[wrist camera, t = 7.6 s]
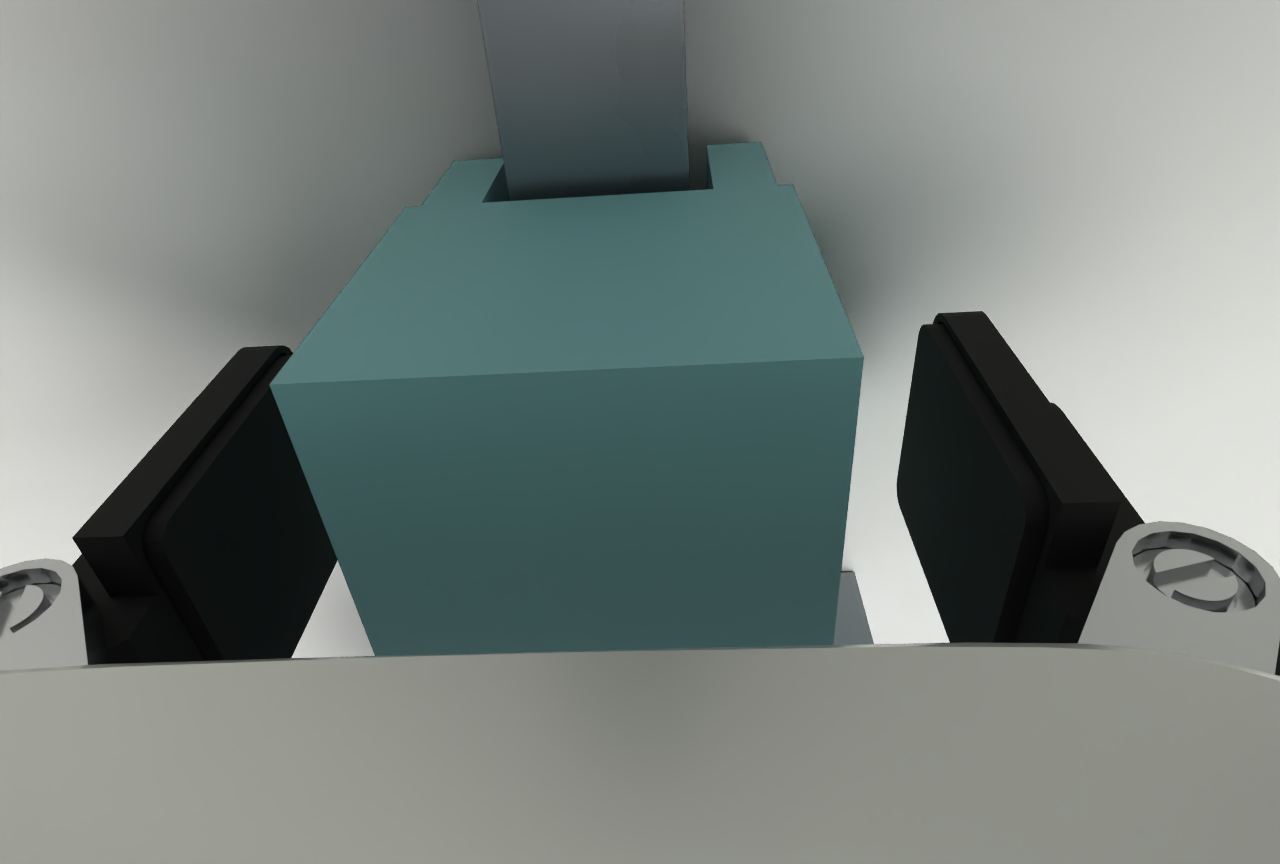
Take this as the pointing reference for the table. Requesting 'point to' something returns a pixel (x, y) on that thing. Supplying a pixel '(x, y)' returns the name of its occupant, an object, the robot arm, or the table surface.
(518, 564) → the block
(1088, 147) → the table surface
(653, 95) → the rail
